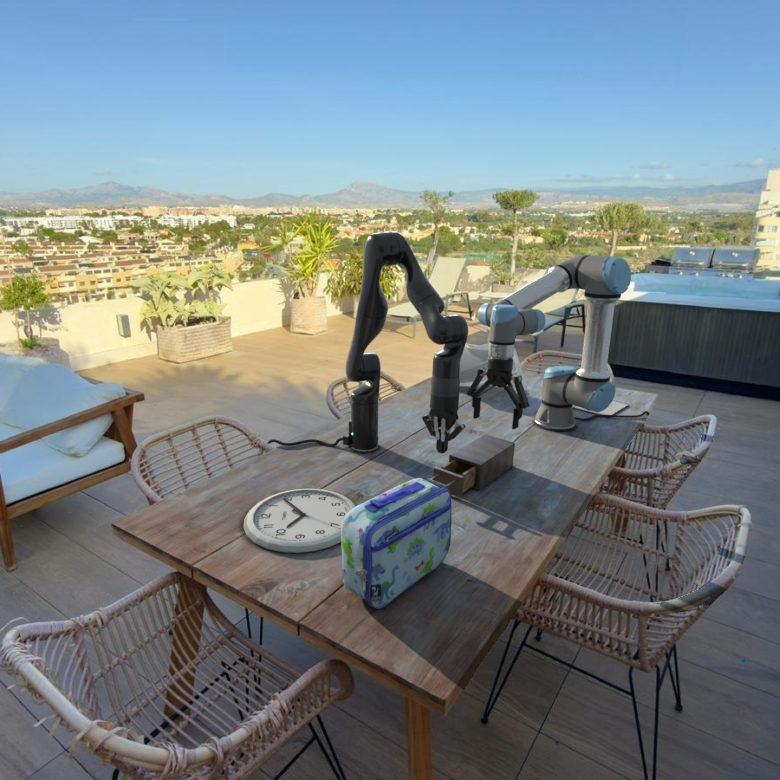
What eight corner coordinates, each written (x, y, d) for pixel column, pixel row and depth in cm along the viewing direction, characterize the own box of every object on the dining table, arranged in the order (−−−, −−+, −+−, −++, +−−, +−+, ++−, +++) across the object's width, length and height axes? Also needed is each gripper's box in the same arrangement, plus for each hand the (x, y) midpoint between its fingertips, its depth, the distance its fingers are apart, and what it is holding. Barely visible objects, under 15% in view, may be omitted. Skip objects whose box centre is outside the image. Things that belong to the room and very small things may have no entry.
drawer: (448, 506, 141) (449, 485, 140) (420, 495, 147) (421, 475, 145) (496, 473, 161) (497, 454, 159) (469, 464, 167) (471, 446, 165)
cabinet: (478, 490, 152) (480, 464, 150) (447, 479, 159) (449, 454, 156) (512, 466, 168) (515, 442, 166) (483, 456, 175) (485, 434, 172)
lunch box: (370, 622, 101) (370, 527, 94) (335, 595, 108) (333, 505, 102) (455, 565, 118) (460, 481, 112) (420, 544, 125) (423, 465, 119)
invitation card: (608, 416, 214) (573, 407, 224) (608, 416, 214) (573, 408, 224) (628, 404, 229) (594, 396, 238) (628, 405, 229) (594, 397, 238)
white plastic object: (461, 429, 252) (437, 405, 227) (444, 352, 274) (420, 323, 250) (535, 404, 240) (518, 377, 215) (510, 326, 262) (492, 293, 237)
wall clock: (362, 544, 122) (232, 548, 120) (362, 550, 123) (232, 555, 120) (359, 484, 151) (253, 486, 148) (359, 489, 151) (253, 492, 149)
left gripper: (416, 389, 138) (414, 449, 143) (458, 400, 130) (454, 463, 135) (432, 383, 144) (430, 441, 149) (474, 393, 136) (470, 454, 141)
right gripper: (458, 352, 162) (455, 416, 169) (534, 366, 147) (526, 436, 154) (471, 348, 168) (467, 410, 174) (545, 361, 153) (537, 429, 159)
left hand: (441, 452), depth 142 cm, fingers closed
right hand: (495, 422), depth 164 cm, fingers open, 13 cm apart
